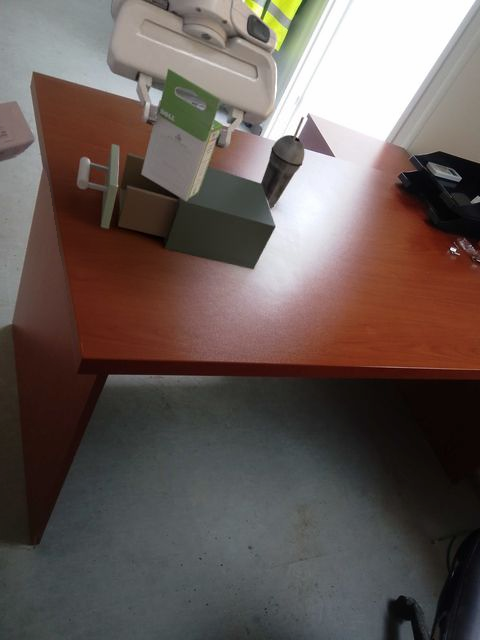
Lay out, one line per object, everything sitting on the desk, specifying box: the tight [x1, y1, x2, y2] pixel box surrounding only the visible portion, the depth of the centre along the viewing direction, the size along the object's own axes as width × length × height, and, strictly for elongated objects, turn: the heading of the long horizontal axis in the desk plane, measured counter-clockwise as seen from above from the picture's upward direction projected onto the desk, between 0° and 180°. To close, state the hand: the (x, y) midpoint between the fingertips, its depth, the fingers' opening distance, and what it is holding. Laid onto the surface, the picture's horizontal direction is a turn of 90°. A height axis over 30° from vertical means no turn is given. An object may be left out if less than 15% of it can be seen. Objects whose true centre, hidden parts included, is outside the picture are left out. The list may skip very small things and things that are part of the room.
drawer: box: [76, 143, 179, 238], centre depth 77 cm, size 20×13×8 cm, turn 103°
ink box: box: [141, 69, 224, 201], centre depth 56 cm, size 7×4×13 cm, turn 71°
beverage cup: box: [260, 116, 306, 209], centre depth 97 cm, size 7×7×20 cm
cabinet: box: [163, 166, 276, 270], centre depth 82 cm, size 17×14×10 cm
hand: (186, 135), depth 55 cm, fingers closed on ink box, 8 cm apart
